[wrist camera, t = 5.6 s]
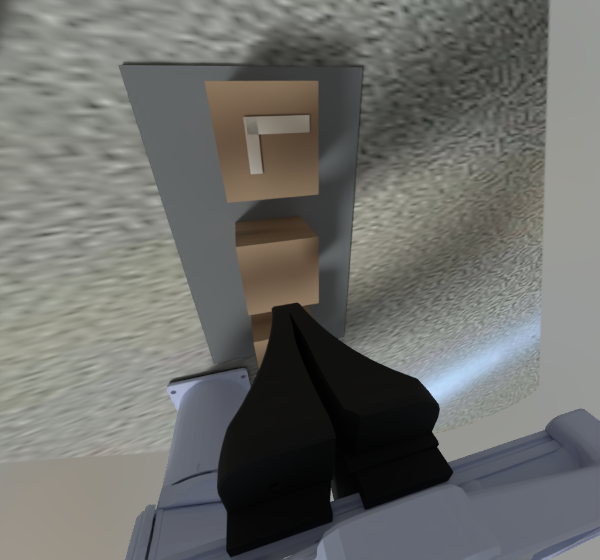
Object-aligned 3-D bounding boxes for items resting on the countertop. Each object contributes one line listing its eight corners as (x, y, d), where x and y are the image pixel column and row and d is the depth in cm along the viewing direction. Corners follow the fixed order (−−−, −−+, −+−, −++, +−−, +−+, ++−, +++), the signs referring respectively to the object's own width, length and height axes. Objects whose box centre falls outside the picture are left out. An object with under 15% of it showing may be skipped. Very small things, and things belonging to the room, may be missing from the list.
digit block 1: (306, 334, 25) (320, 373, 21) (256, 343, 24) (261, 387, 20) (304, 294, 23) (321, 330, 19) (249, 303, 22) (253, 343, 18)
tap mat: (343, 334, 27) (344, 336, 27) (214, 361, 25) (214, 363, 24) (360, 68, 16) (362, 67, 15) (120, 66, 13) (118, 64, 13)
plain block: (302, 271, 22) (318, 303, 17) (245, 280, 21) (248, 315, 16) (299, 215, 19) (318, 236, 15) (235, 222, 18) (235, 247, 14)
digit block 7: (300, 181, 18) (321, 194, 13) (228, 187, 17) (227, 203, 13) (297, 97, 15) (322, 80, 11) (212, 98, 14) (204, 80, 10)
